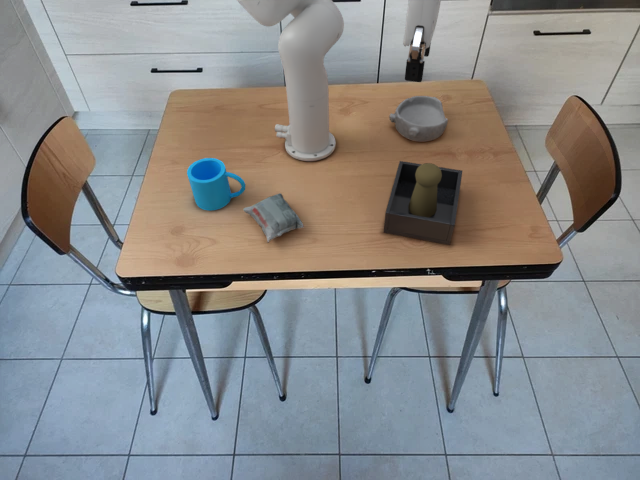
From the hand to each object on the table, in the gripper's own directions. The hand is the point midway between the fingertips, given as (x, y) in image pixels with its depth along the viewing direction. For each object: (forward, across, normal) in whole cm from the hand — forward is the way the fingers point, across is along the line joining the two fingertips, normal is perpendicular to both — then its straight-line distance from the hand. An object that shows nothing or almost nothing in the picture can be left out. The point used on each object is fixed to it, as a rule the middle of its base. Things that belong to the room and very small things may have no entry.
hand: (417, 67), depth 95 cm
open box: (+26, +12, +6) cm, 30 cm away
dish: (+26, -18, +1) cm, 32 cm away
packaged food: (+26, +24, -24) cm, 43 cm away
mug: (+26, +19, -38) cm, 50 cm away
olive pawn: (+26, +12, +6) cm, 29 cm away
